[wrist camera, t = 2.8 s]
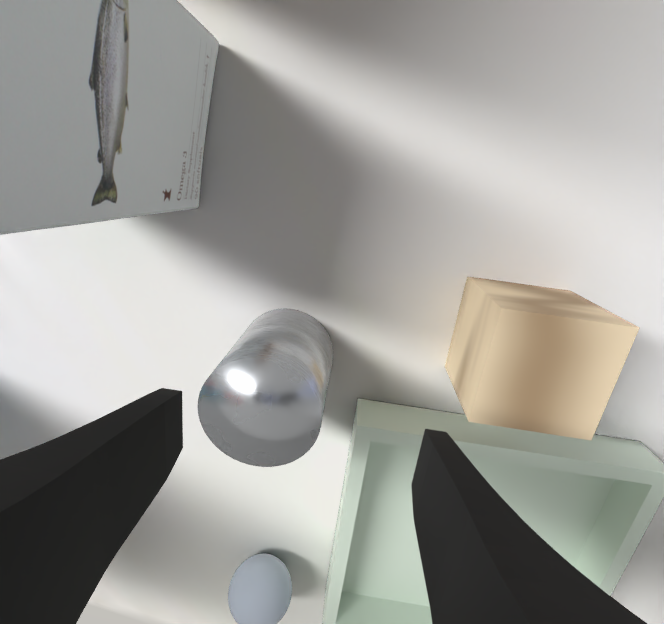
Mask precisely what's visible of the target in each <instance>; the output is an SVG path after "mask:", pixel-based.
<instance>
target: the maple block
mask: <svg viewBox="0 0 664 624" xmlns="http://www.w3.org/2000/svg"><path fill="white" fill-rule="evenodd" d="M638 330H639V327H637V326H635V325H633V324H632V323H630V322H628V321H626V320H624V319H622V318H620V317H618V316H617V315H615V314H613V313H611V312H609V311H607V310H605V309H603V308H602V307H600V306H598V305H596V304H594V303H592V302H590V301H588V300H587V299H585V298H583V297H581V296H579V295H577V294H575V293H573V292H572V291H568V290H560V289H553V288H546V287H539V286H532V285H525V284H517V283H510V282H503V281H496V280H489V279H482V278H474V277H467V280H466V284H465V288H464V292H463V296H462V300H461V304H460V308H459V312H458V316H457V320H456V324H455V328H454V332H453V336H452V340H451V344H450V348H449V352H448V356H447V360H446V364H445V368H446V371H447V373H448V375H449V378H450V380H451V382H452V385H453V387H454V389H455V391H456V394H457V396H458V398H459V401H460V403H461V405H462V408H463V410H464V412H465V415H466V417H467V419H468V422H473V423H480V424H487V425H493V426H500V427H506V428H513V429H519V430H526V431H532V432H539V433H545V434H552V435H558V436H565V437H572V438H578V439H585V440H592V438H593V435H594V433H595V431H596V428H597V426H598V424H599V421H600V419H601V417H602V414H603V412H604V410H605V407H606V405H607V403H608V400H609V398H610V396H611V393H612V391H613V389H614V386H615V384H616V382H617V379H618V377H619V375H620V372H621V370H622V368H623V365H624V363H625V361H626V358H627V356H628V354H629V351H630V349H631V347H632V344H633V342H634V340H635V337H636V335H637V333H638Z"/></svg>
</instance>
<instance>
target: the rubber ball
mask: <svg viewBox="0 0 664 624" xmlns="http://www.w3.org/2000/svg"><path fill="white" fill-rule="evenodd" d="M291 596H292V582H291V577H290V573H289V571H288V569H287V567H286V566H285V564H284V563H283V562H282V561H281V560H280V559H279V558H277V557H275V556H273V555H270V554H257V555H254V556H252V557H249V558H248V559H246V560H245V561H244V562H243V563H242V564H241V565H240V566H239V567H238V568H237V570H236V571H235V573H234V575H233V577H232V579H231V582H230V586H229V592H228V602H229V608H230V611H231V614H232V616H233V618H234V619H235V621H236V622H237V623H238V624H277V623H278V622H279V621H280V620H281V619H282V617H283V616H284V614H285V613H286V611H287V609H288V607H289V604H290V600H291Z"/></svg>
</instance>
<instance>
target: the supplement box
mask: <svg viewBox="0 0 664 624" xmlns="http://www.w3.org/2000/svg"><path fill="white" fill-rule="evenodd" d="M218 48H219V42H218V41H217V39H216V38H215V37H214V36H213V35H212V34H211V33H210V32H209V31H208V30H207V29H206V28H205V27H204V26H203V25H202V24H201V23H200V22H199V21H198V20H197V19H196V18H195V17H194V16H193V15H192V14H191V13H189V12H188V11H187V10H186V9H185V8H184V7H183V6H182V5H181V4H180V3H179V2H178V1H177V0H0V235H1V234H9V233H16V232H24V231H31V230H38V229H47V228H55V227H63V226H70V225H78V224H85V223H93V222H100V221H107V220H114V219H120V218H128V217H136V216H143V215H151V214H159V213H166V212H173V211H180V210H188V209H197V208H198V207H199V198H200V184H201V172H202V163H203V153H204V144H205V136H206V129H207V121H208V114H209V107H210V100H211V92H212V85H213V78H214V72H215V66H216V60H217V54H218Z"/></svg>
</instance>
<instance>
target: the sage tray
mask: <svg viewBox="0 0 664 624" xmlns="http://www.w3.org/2000/svg"><path fill="white" fill-rule="evenodd" d="M425 429H431V430H437V431H444V432H447V433H448V434H449V436H450V437H451V438H452V439H453V440H454V442H455V443H456V444H457V445H458V447H459V448H460V449H461V450H462V452H463V453H464V454H465V455H466V457H467V458H468V459H469V460H470V461H471V463H472V464H473V465H474V466H475V468H476V469H477V470H478V471H479V472H480V474H481V475H482V476H483V477H484V478H485V479H486V481H487V482H488V483H489V484H490V485H491V486H492V487H493V489H494V490H495V491H496V492H497V493H498V494H499V495H500V496H501V497H502V499H503V500H504V501H505V502H506V503H507V504H508V505H509V506H510V507H511V508H512V509H513V510H514V511H515V512H516V513H517V514H518V515H519V516H520V517H521V519H522V520H523V521H524V522H525V523H527V524H528V525H529V526H530V527H531V528H532V529H533V530H534V531H535V532H536V533H537V534H538V535H539V536H540V537H541V538H542V539H543V540H544V541H546V542H547V543H548V544H549V545H550V546H551V547H552V548H553V549H554V550H555V551H556V552H557V553H559V554H560V555H561V556H562V557H563V558H564V559H565V560H567V561H568V562H569V563H570V564H571V565H572V566H574V567H575V568H576V569H577V570H578V571H580V572H581V573H582V574H583V575H585V576H586V577H587V578H588V579H590V580H591V581H592V582H593V583H594V584H596V585H597V586H598V587H599V588H601V589H602V590H603V591H604V592H606V593H607V594H608V595H609V596H611V594H612V592H613V591H614V589H615V587H616V585H617V583H618V581H619V579H620V578H621V576H622V574H623V572H624V570H625V568H626V566H627V565H628V563H629V561H630V559H631V557H632V555H633V553H634V552H635V550H636V548H637V546H638V544H639V542H640V540H641V539H642V537H643V535H644V533H645V531H646V529H647V527H648V526H649V524H650V522H651V520H652V518H653V516H654V515H655V513H656V511H657V509H658V507H659V505H660V503H661V502H662V500H663V498H664V463H663V462H662V461H661V460H660V459H658V458H657V457H656V456H655V455H654V454H653V453H652V452H651V451H650V450H649V449H648V448H647V447H646V446H645V445H644V444H643V443H642V442H640V441H634V440H628V439H621V438H614V437H608V436H601V435H595V434H594V435H593V438H592V440H585V439H578V438H572V437H565V436H558V435H552V434H545V433H539V432H532V431H526V430H519V429H513V428H506V427H500V426H493V425H487V424H480V423H473V422H468V419H467V417H466V415H464V414H457V413H451V412H444V411H437V410H431V409H424V408H418V407H411V406H405V405H398V404H392V403H385V402H378V401H372V400H365V399H359V398H358V400H357V406H356V412H355V418H354V424H353V430H352V436H351V442H350V448H349V454H348V459H347V465H346V471H345V477H344V483H343V489H342V495H341V501H340V507H339V512H338V518H337V524H336V530H335V536H334V542H333V548H332V554H331V560H330V565H329V571H328V577H327V583H326V589H325V599H324V609H323V620H322V624H432V617H431V610H430V604H429V599H428V594H427V588H426V583H425V578H424V573H423V567H422V562H421V557H420V551H419V546H418V541H417V535H416V530H415V524H414V517H413V503H412V486H411V484H412V480H413V476H414V472H415V468H416V464H417V459H418V455H419V451H420V447H421V443H422V439H423V435H424V431H425Z"/></svg>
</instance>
